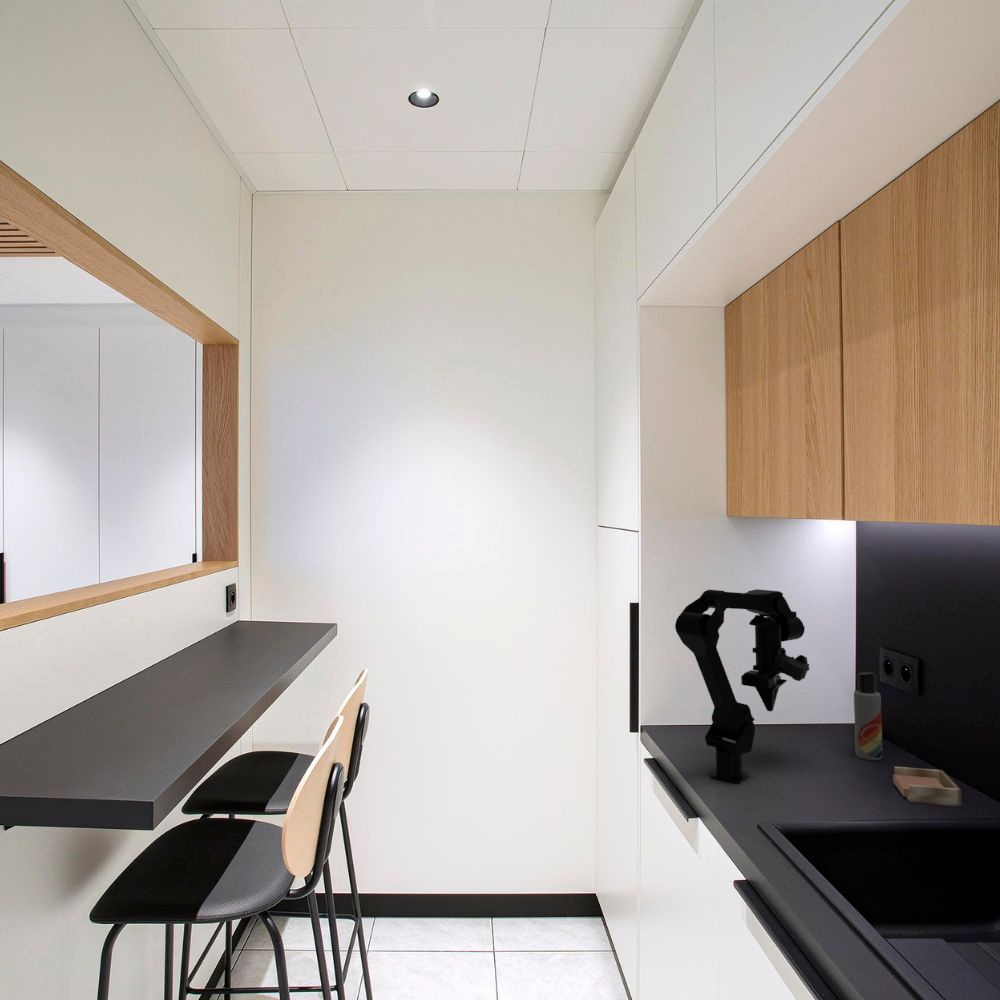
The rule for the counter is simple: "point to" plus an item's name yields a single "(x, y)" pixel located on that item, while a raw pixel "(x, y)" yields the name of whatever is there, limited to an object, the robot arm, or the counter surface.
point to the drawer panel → (913, 782)
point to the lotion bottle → (867, 718)
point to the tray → (932, 795)
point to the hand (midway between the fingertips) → (770, 710)
